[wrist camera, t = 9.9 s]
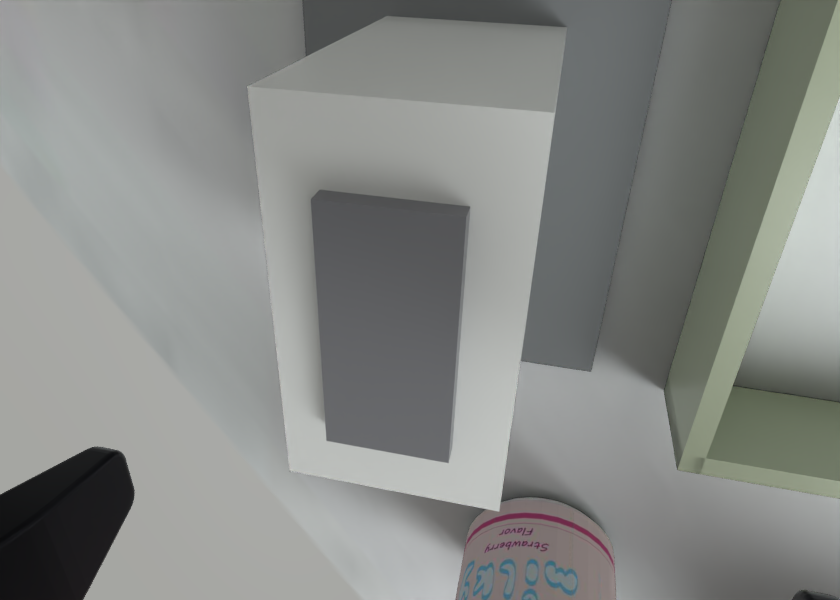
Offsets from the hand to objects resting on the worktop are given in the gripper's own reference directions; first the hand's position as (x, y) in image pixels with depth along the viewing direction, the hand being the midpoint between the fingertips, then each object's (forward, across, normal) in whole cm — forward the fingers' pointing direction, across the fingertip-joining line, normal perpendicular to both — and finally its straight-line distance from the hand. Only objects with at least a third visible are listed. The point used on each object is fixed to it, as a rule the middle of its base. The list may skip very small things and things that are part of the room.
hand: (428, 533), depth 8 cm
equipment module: (+11, +1, -1) cm, 12 cm away
